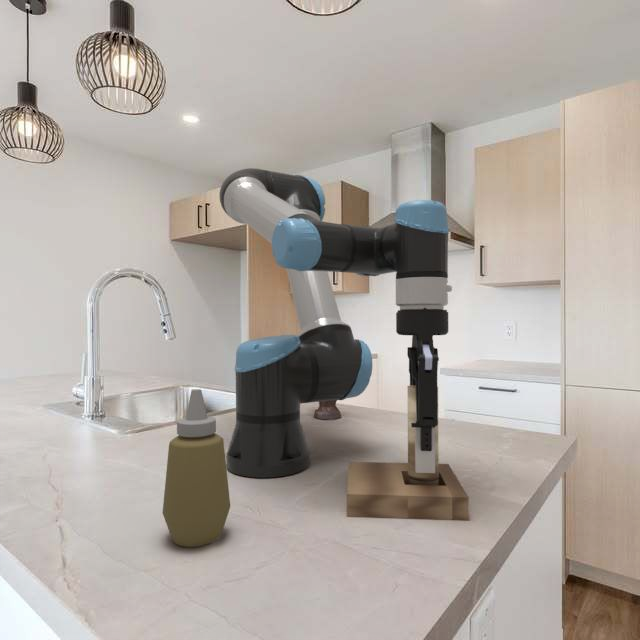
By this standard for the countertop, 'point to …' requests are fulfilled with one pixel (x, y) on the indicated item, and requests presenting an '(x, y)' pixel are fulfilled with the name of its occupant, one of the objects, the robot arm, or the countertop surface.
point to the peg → (412, 475)
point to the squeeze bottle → (196, 479)
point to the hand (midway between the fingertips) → (422, 466)
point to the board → (403, 493)
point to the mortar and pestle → (327, 410)
